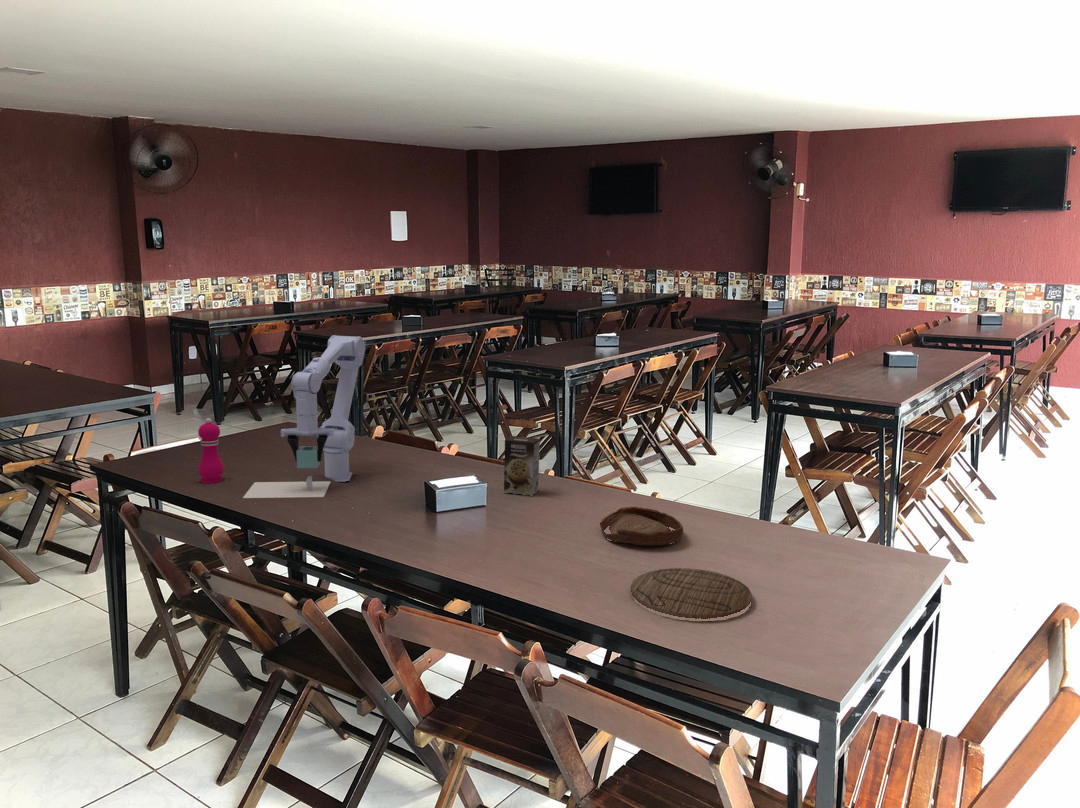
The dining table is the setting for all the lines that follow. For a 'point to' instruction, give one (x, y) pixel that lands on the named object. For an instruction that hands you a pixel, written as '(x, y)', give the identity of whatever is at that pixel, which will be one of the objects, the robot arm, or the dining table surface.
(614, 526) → the basket
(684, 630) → the dining table surface
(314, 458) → the teal square tube
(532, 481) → the brown cardboard box
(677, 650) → the dining table surface
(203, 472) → the pepper mill
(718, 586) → the trivet
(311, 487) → the key plate
